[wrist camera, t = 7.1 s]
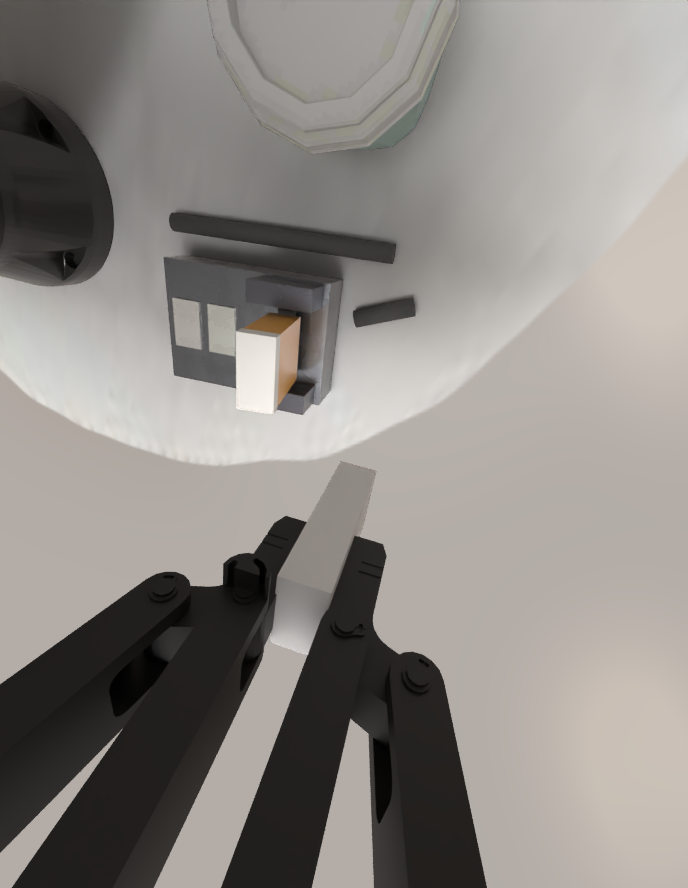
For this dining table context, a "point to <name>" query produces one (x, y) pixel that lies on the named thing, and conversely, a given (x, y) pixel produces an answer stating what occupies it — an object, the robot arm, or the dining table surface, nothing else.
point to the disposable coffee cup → (334, 65)
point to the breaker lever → (266, 361)
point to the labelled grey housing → (249, 321)
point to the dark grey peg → (384, 313)
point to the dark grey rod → (283, 237)
